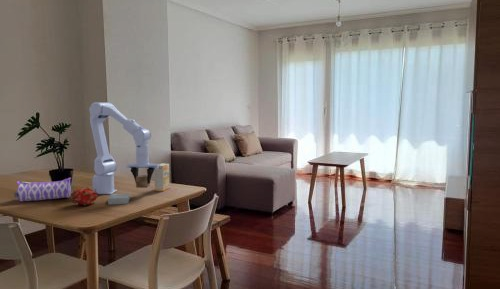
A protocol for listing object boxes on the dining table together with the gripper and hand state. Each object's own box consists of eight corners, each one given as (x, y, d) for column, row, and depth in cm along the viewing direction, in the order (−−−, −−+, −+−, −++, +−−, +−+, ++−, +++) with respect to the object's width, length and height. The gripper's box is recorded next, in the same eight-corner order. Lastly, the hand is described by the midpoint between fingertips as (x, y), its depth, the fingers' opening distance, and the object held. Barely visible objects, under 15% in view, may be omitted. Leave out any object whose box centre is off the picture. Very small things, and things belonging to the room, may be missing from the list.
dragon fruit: (67, 210, 157) (96, 209, 165) (74, 202, 151) (103, 201, 159) (66, 192, 160) (94, 192, 168) (72, 183, 155) (101, 183, 163)
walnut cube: (136, 187, 173) (135, 177, 172) (139, 185, 178) (139, 175, 177) (146, 187, 173) (146, 177, 172) (149, 185, 178) (149, 175, 177)
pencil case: (14, 204, 160) (13, 182, 159) (19, 199, 169) (18, 178, 168) (71, 200, 168) (70, 179, 167) (72, 195, 177) (72, 175, 176)
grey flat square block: (108, 205, 161) (108, 198, 161) (111, 200, 169) (111, 194, 168) (127, 204, 162) (127, 197, 162) (129, 199, 170) (129, 193, 170)
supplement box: (163, 191, 185) (163, 165, 184) (154, 191, 186) (154, 165, 185) (170, 188, 193) (169, 163, 192) (161, 187, 194) (161, 162, 193)
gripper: (124, 155, 169) (124, 184, 171) (155, 156, 170) (156, 185, 171) (128, 153, 176) (129, 181, 178) (159, 154, 177) (159, 182, 178)
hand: (142, 183), depth 175 cm, fingers closed on walnut cube, 5 cm apart
